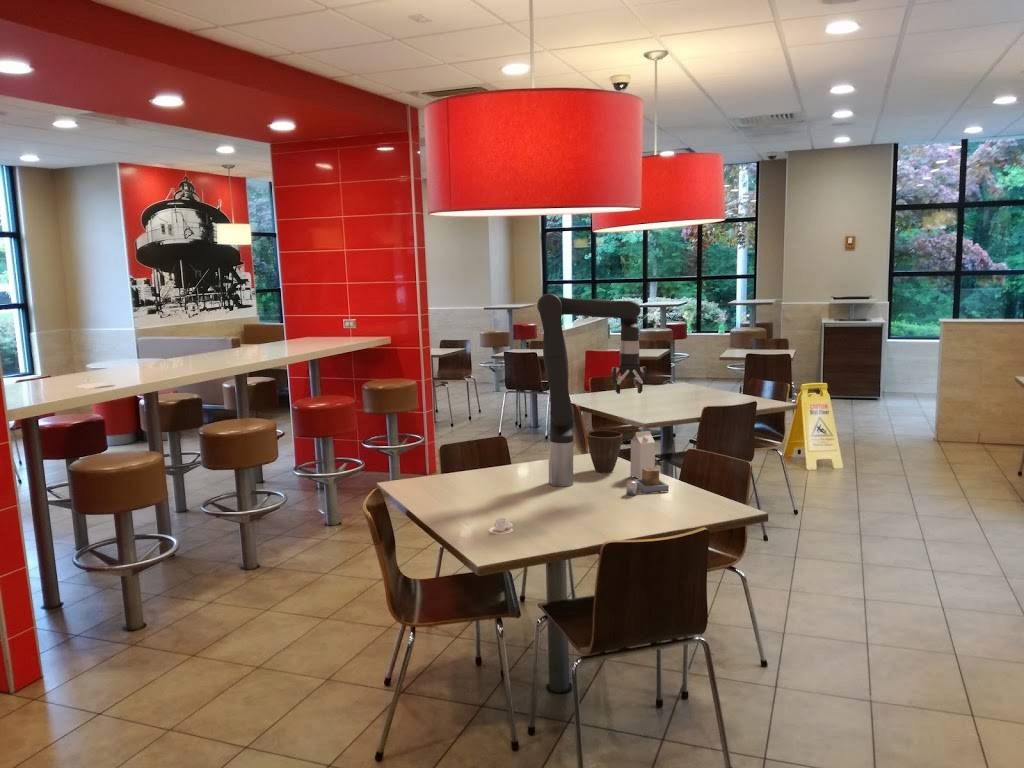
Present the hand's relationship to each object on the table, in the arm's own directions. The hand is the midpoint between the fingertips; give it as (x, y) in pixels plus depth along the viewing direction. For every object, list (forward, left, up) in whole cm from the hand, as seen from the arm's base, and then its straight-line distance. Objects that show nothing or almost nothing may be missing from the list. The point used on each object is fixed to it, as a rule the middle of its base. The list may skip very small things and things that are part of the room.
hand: (628, 393), depth 323 cm
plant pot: (-3, +22, -36) cm, 43 cm away
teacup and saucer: (-57, -52, -37) cm, 86 cm away
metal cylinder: (-4, -17, -36) cm, 40 cm away
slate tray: (+6, -10, -36) cm, 38 cm away
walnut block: (+6, -10, -36) cm, 37 cm away
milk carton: (+9, +8, -36) cm, 38 cm away
